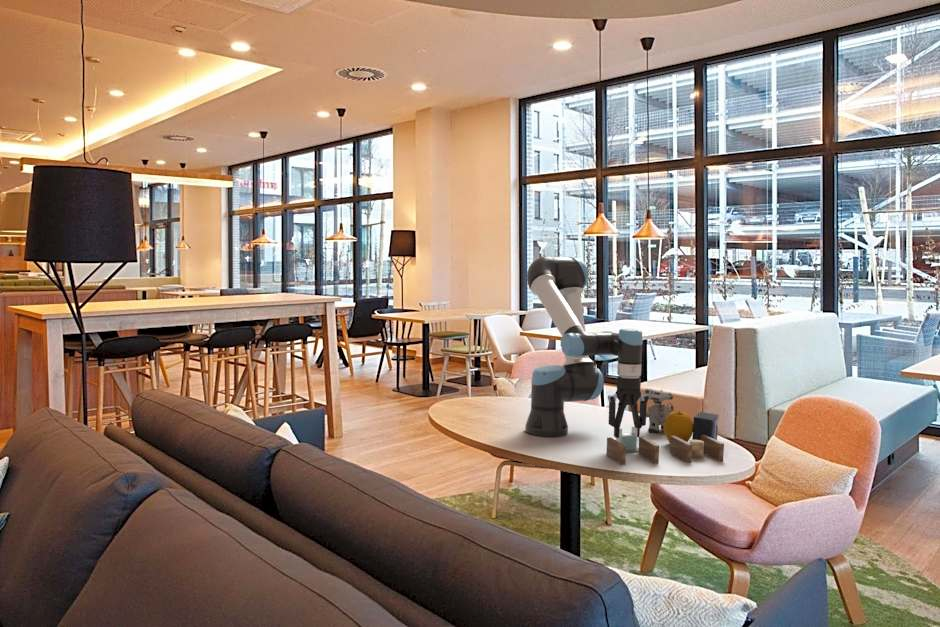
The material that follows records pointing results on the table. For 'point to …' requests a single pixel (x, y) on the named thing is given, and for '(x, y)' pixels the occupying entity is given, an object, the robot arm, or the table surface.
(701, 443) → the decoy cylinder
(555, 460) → the table surface
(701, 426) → the small box
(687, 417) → the apple
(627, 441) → the letter cube
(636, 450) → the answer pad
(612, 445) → the divider rack
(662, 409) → the figurine
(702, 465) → the table surface
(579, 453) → the table surface
